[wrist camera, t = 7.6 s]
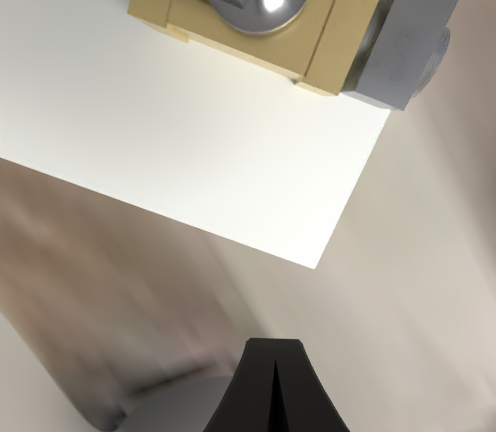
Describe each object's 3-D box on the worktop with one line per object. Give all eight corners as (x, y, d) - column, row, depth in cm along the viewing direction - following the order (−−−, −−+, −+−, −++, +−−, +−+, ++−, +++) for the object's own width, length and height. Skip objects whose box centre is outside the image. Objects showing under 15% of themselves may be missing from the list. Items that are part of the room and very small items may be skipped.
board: (512, -159, 13) (526, -174, 13) (312, 262, 19) (314, 269, 19) (52, -369, 12) (37, -399, 12) (-10, 147, 18) (-21, 149, 18)
